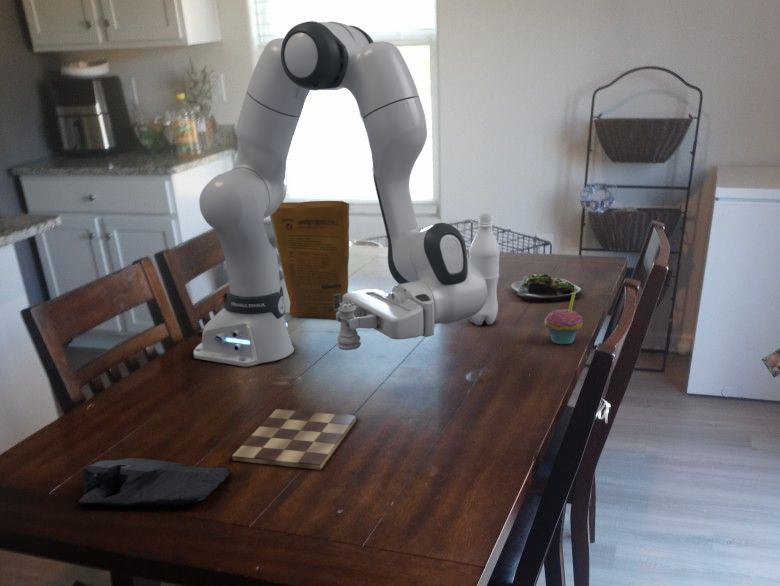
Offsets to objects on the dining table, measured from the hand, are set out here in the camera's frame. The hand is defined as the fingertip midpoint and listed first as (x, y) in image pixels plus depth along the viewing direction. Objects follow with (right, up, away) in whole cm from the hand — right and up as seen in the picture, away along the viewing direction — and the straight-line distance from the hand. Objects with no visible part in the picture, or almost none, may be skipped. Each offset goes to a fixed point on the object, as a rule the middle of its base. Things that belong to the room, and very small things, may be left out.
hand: (343, 320), depth 151 cm
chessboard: (-8, -21, -1) cm, 23 cm away
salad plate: (+49, +24, +71) cm, 90 cm away
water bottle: (+31, +12, +53) cm, 62 cm away
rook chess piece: (+1, -4, +3) cm, 5 cm away
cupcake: (+47, +5, +40) cm, 62 cm away
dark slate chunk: (-30, -31, -15) cm, 45 cm away
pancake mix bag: (-9, +15, +60) cm, 63 cm away
